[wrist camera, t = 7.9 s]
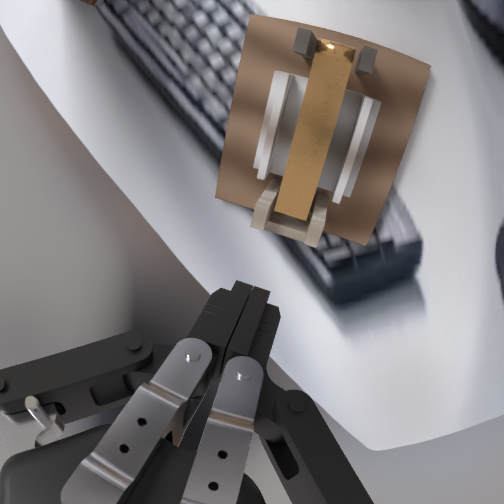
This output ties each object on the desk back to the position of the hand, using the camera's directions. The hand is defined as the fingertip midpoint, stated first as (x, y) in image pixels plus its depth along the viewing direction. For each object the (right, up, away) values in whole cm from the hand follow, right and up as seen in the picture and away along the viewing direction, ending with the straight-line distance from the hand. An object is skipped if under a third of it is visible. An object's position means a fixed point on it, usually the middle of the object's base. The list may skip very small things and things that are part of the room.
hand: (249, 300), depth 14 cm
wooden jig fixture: (+7, +15, +17) cm, 23 cm away
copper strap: (+5, +12, +11) cm, 18 cm away
